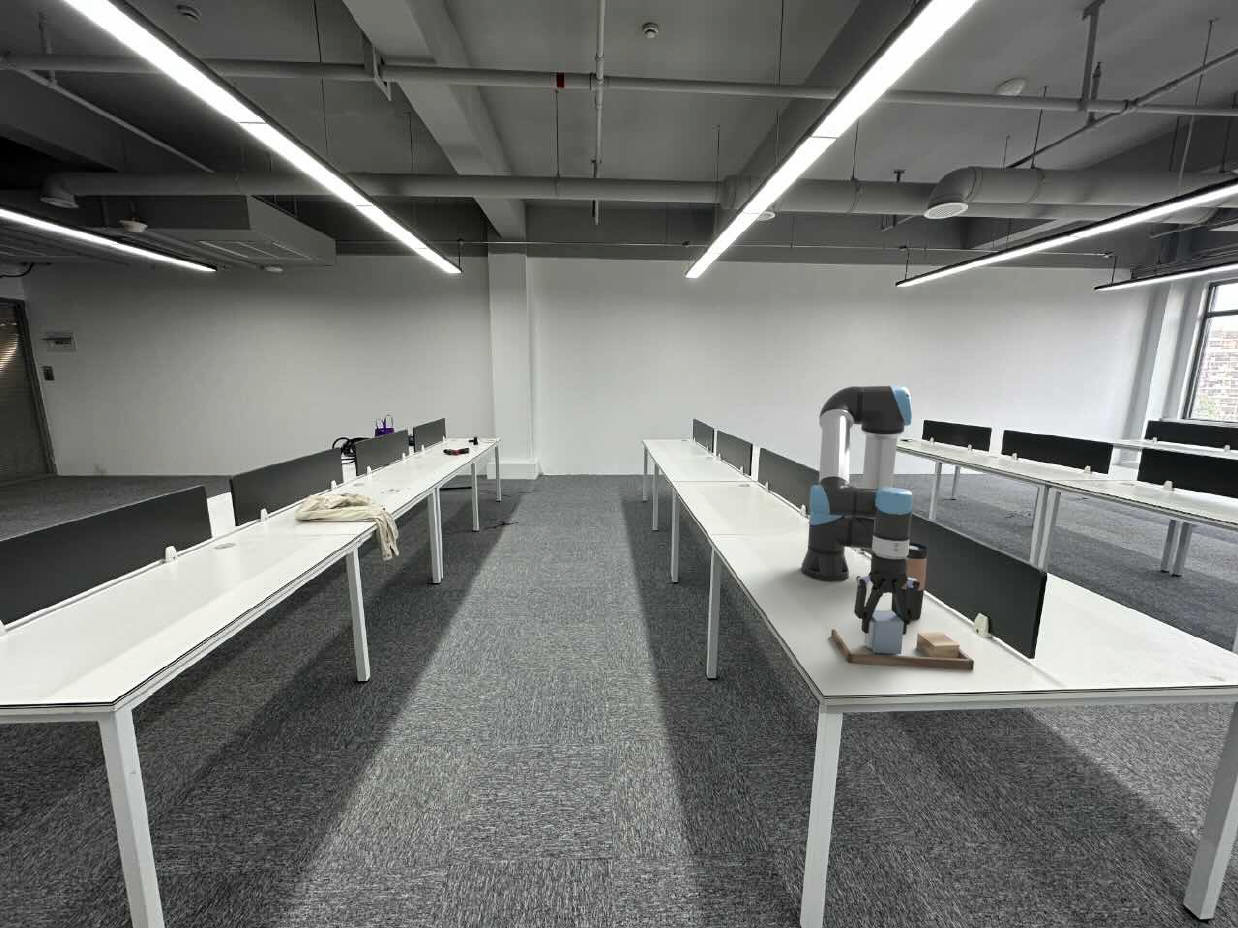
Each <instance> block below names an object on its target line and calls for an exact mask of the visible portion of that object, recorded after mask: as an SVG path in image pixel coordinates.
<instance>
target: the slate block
mask: <svg viewBox="0 0 1238 928" xmlns="http://www.w3.org/2000/svg"><path fill="white" fill-rule="evenodd" d="M871 620H872V621H873V622H874V626H873V639H872V648H870V649H871V651H872V652H873V653H874V654H890V655H891V654H893V655H895V654H896V655H901V654H902V649H903V647H902V645H903V636H904V635H903V627H904V622H903V621H902V620H901V619H900V618H899V617H898V616H897V615H896V614H895V613H894V612H893V611H891V610H885V609H884V610H880V609H875V611H874V613H873V616H872V618H871Z"/></svg>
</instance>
